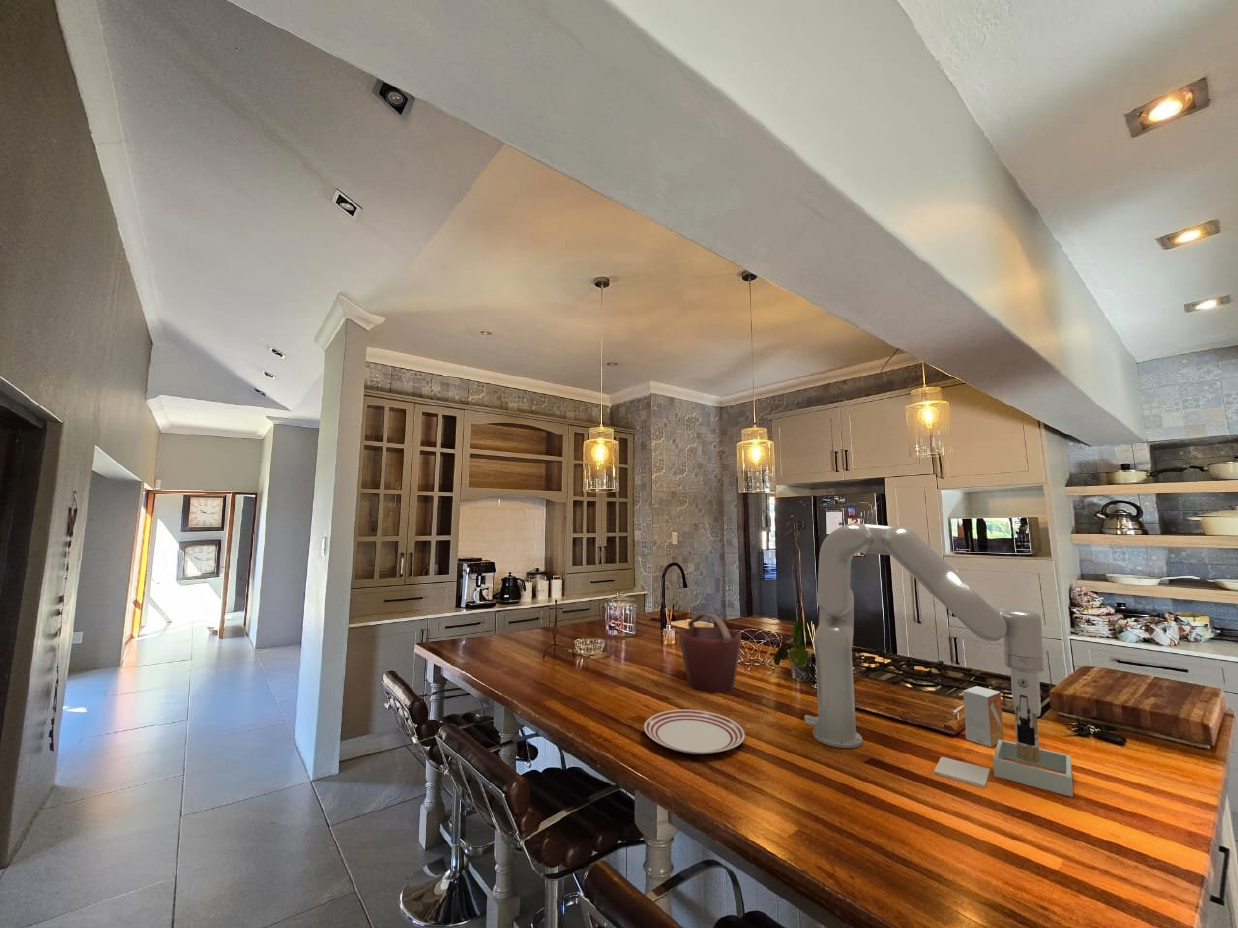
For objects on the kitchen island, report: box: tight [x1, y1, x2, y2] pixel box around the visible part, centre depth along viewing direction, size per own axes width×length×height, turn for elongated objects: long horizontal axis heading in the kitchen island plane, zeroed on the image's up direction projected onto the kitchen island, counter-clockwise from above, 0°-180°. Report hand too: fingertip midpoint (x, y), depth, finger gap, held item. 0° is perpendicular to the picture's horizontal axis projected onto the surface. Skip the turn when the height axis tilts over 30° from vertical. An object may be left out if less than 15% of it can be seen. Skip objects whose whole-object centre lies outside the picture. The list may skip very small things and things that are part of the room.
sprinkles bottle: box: [1014, 699, 1040, 762], centre depth 124 cm, size 5×5×13 cm
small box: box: [962, 685, 1005, 748], centre depth 143 cm, size 8×6×13 cm
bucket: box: [678, 613, 742, 694], centre depth 190 cm, size 24×22×25 cm
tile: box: [933, 756, 991, 789], centre depth 124 cm, size 10×10×1 cm
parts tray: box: [992, 740, 1074, 798], centre depth 123 cm, size 14×14×4 cm
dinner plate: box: [643, 709, 746, 755], centre depth 143 cm, size 28×27×3 cm
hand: (1027, 739), depth 124 cm, fingers closed on sprinkles bottle, 4 cm apart
